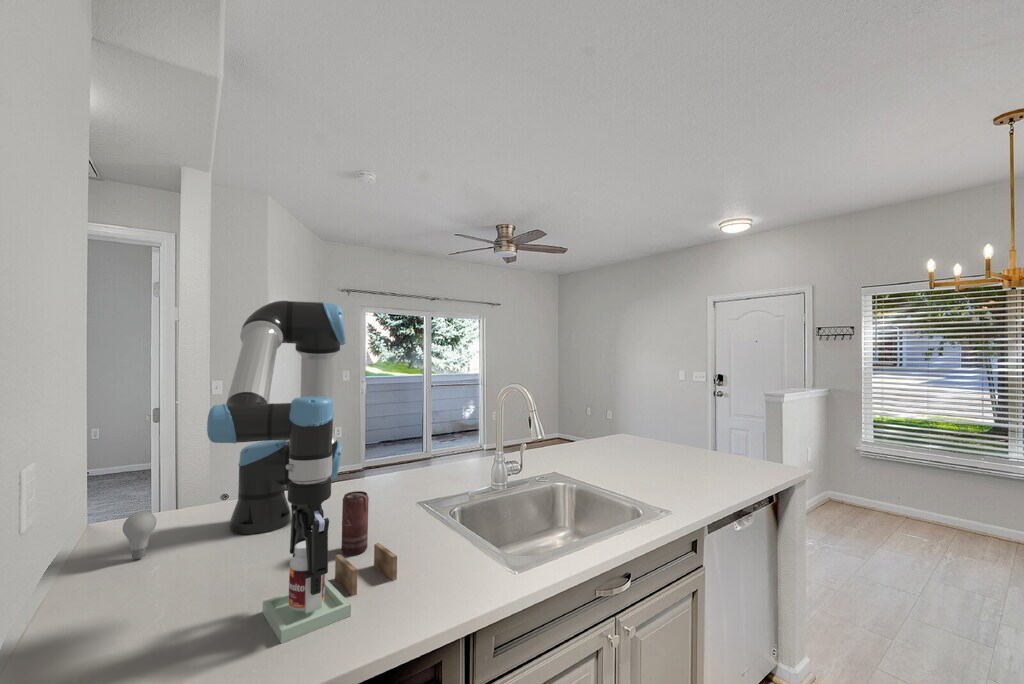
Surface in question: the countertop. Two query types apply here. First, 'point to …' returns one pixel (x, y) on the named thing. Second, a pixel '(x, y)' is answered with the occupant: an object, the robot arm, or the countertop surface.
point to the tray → (304, 614)
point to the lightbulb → (139, 532)
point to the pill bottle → (299, 578)
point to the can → (355, 523)
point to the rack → (348, 572)
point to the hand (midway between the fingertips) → (306, 601)
